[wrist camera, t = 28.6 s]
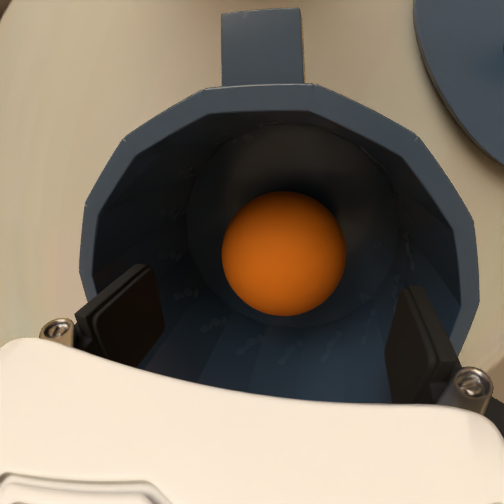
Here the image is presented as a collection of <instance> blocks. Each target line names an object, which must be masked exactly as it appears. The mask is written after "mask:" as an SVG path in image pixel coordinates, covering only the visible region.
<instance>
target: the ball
mask: <svg viewBox="0 0 504 504" xmlns="http://www.w3.org/2000/svg"><path fill="white" fill-rule="evenodd" d="M345 263H346V244H345V240H344V236H343V233H342V230H341V228H340V225H339V224H338V222H337V220H336V218H335V217H334V216H333V215H332V213H331V212H330V211H329V210H328V209H327V208H326V207H325V206H323V205H322V204H321V203H319V202H318V201H316V200H315V199H313V198H311V197H309V196H306V195H304V194H300V193H296V192H289V191H278V192H271V193H267V194H264V195H261V196H259V197H257V198H255V199H253V200H251V201H250V202H248V203H247V204H246V205H244V206H243V207H242V208H241V209H240V210H239V211H238V212H237V213H236V215H235V216H234V217H233V219H232V220H231V222H230V223H229V225H228V228H227V230H226V232H225V235H224V239H223V244H222V264H223V268H224V272H225V275H226V278H227V280H228V282H229V284H230V286H231V288H232V289H233V290H234V292H235V293H236V294H237V295H238V296H239V297H240V298H241V299H242V300H243V301H244V302H245V303H246V304H248V305H249V306H251V307H252V308H254V309H256V310H258V311H260V312H263V313H266V314H270V315H275V316H293V315H298V314H302V313H305V312H307V311H310V310H312V309H314V308H315V307H317V306H319V305H320V304H322V303H323V302H324V301H325V300H326V299H327V298H328V297H329V296H330V295H331V294H332V293H333V292H334V290H335V289H336V287H337V286H338V284H339V282H340V280H341V277H342V275H343V272H344V268H345Z"/></svg>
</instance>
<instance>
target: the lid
mask: <svg viewBox="0 0 504 504" xmlns="http://www.w3.org/2000/svg"><path fill="white" fill-rule="evenodd" d="M413 20H414V29H415V33H416V38H417V43H418V46H419V49H420V52H421V56H422V59H423V61H424V63H425V66H426V69H427V71H428V74H429V76H430V78H431V80H432V82H433V84H434V86H435V88H436V90H437V92H438V93H439V95H440V97H441V99H442V100H443V102H444V104H445V106H446V107H447V108H448V110H449V111H450V113H451V114H452V116H453V118H454V119H455V120H456V122H457V123H458V124H459V125H460V127H461V128H462V129H463V131H464V132H465V133H466V134H467V135H468V136H469V138H470V139H471V140H472V141H473V142H474V143H475V144H476V145H477V146H478V147H479V148H480V149H481V150H482V151H483V152H485V153H486V154H487V155H488V156H489V157H491V158H492V159H493V160H495V161H496V162H497V163H499V164H501V165H503V166H504V0H413Z"/></svg>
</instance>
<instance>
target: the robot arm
mask: <svg viewBox="0 0 504 504" xmlns="http://www.w3.org/2000/svg"><path fill="white" fill-rule="evenodd" d="M74 315H75V318H76V320H77V323H76V324H75V325H74V323H73V321H72V320H70V319H68V318H58V319H55V320H52V321H50V322H48V323H47V324H45V325H44V326H43V328H42V329H41V331H40V335H39V338H20V339H15V340H12V341H10V342H8V343H7V344H5V345H4V346H3V347H1V348H0V504H504V404H503V403H502V402H500V401H498V400H497V399H495V398H493V397H492V393H493V382H492V380H491V379H490V377H489V376H488V375H487V374H486V373H485V372H484V371H482V370H481V369H478V368H475V367H469V366H468V367H462V366H461V364H460V362H459V359H458V357H457V355H456V353H455V350H454V348H453V346H452V344H451V341H450V339H449V337H448V335H447V333H446V331H445V329H444V327H443V325H442V323H441V322H440V320H439V318H438V316H437V314H436V312H435V310H434V308H433V306H432V304H431V302H430V300H429V299H428V297H427V295H426V293H425V291H424V289H423V287H422V286H413V285H407V286H406V287H405V289H401V290H400V293H399V297H398V301H397V306H396V310H395V314H394V317H393V321H392V325H391V329H390V332H389V336H388V339H387V343H386V346H385V351H384V358H385V364H386V369H387V375H388V381H389V388H390V394H391V401H392V404H381V403H343V402H326V401H313V400H302V399H292V398H283V397H275V396H268V395H261V394H254V393H247V392H241V391H235V390H229V389H224V388H218V387H213V386H208V385H203V384H198V383H194V382H189V381H185V380H180V379H176V378H172V377H168V376H164V375H160V374H156V373H152V372H149V371H145V370H141V369H138V368H137V367H138V365H139V364H140V363H141V361H142V360H143V359H144V357H145V356H146V355H147V353H148V352H149V351H150V350H151V348H152V347H153V346H154V344H155V343H156V342H157V340H158V339H159V338H160V336H161V335H162V334H163V332H164V330H165V322H164V317H163V312H162V307H161V302H160V297H159V292H158V286H157V281H156V275H155V271H154V270H153V269H152V268H151V266H150V265H144V264H135V265H134V266H132V267H131V268H130V269H129V270H127V271H126V272H125V273H124V274H122V275H121V276H120V277H119V278H117V279H116V280H115V281H114V282H112V283H111V284H110V285H109V286H107V287H106V288H105V289H104V290H103V291H101V292H100V293H99V294H98V295H96V296H95V297H94V298H93V299H92V300H90V301H89V302H88V303H87V304H86V305H85V306H83V307H82V308H81V309H80V310H79V311H77V312H76V313H75V314H74Z"/></svg>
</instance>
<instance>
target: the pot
mask: <svg viewBox="0 0 504 504" xmlns="http://www.w3.org/2000/svg"><path fill="white" fill-rule="evenodd" d="M221 62H222V87H212V88H206V89H204V90H200V91H198V92H196V93H194V94H193V95H191V96H189V97H187V98H185V99H184V100H182V101H180V102H178V103H177V104H175V105H173V106H172V107H170V108H168V109H167V110H165V111H163V112H162V113H160V114H158V115H157V116H155V117H154V118H152V119H150V120H149V121H147V122H146V123H144V124H143V125H141V126H140V127H138V128H137V129H135V130H134V131H132V132H131V133H129V134H128V135H126V136H125V138H123V139H122V141H121V142H120V144H119V145H118V147H117V148H116V150H115V152H114V153H113V155H112V156H111V158H110V160H109V161H108V163H107V165H106V166H105V168H104V170H103V171H102V173H101V175H100V176H99V178H98V180H97V182H96V184H95V185H94V187H93V189H92V191H91V193H90V194H89V196H88V198H87V200H86V202H85V207H84V215H83V223H82V233H81V245H80V260H79V273H80V277H81V281H82V284H83V288H84V291H85V295H86V298H87V302H89V301H90V300H92V299H93V298H94V297H95V296H96V295H98V294H99V293H100V292H101V291H103V290H104V289H105V288H106V287H107V286H109V285H110V284H111V283H112V282H114V281H115V280H116V279H117V278H119V277H120V276H121V275H122V274H124V273H125V272H126V271H127V270H129V269H130V268H131V267H132V266H134V265H135V264H144V265H150V266H151V268H152V269H153V270H154V271H155V275H156V281H157V286H158V292H159V297H160V302H161V307H162V312H163V317H164V322H165V330H164V332H163V334H162V335H161V336H160V338H159V339H158V340H157V342H156V343H155V344H154V346H153V347H152V348H151V350H150V351H149V352H148V353H147V355H146V356H145V357H144V359H143V360H142V361H141V363H140V364H139V365H138V367H137V368H138V369H141V370H145V371H149V372H152V373H156V374H160V375H164V376H168V377H172V378H176V379H180V380H185V381H189V382H194V383H198V384H203V385H208V386H213V387H218V388H224V389H229V390H235V391H241V392H247V393H254V394H261V395H268V396H275V397H283V398H292V399H302V400H313V401H326V402H343V403H381V404H392V401H391V394H390V388H389V381H388V375H387V369H386V364H385V358H384V351H385V346H386V343H387V339H388V336H389V332H390V329H391V325H392V321H393V317H394V314H395V310H396V306H397V301H398V297H399V293H400V290H401V289H405V287H406V286H407V285H413V286H422V287H423V289H424V291H425V293H426V295H427V297H428V299H429V300H430V302H431V304H432V306H433V308H434V310H435V312H436V314H437V316H438V318H439V320H440V322H441V323H442V325H443V327H444V329H445V331H446V333H447V335H448V337H449V339H450V341H451V344H452V346H453V348H454V350H455V353H456V355H457V357H458V355H459V353H460V351H461V349H462V346H463V344H464V342H465V339H466V337H467V334H468V332H469V330H470V327H471V324H472V322H473V319H474V316H475V314H476V311H477V308H478V305H479V302H480V299H479V270H478V256H477V245H476V236H475V228H474V221H473V219H472V216H471V215H470V213H469V211H468V209H467V208H466V206H465V204H464V202H463V201H462V199H461V197H460V196H459V194H458V193H457V191H456V189H455V188H454V186H453V185H452V183H451V181H450V180H449V178H448V177H447V175H446V174H445V172H444V171H443V169H442V168H441V167H440V165H439V164H438V162H437V161H436V159H435V158H434V157H433V155H432V154H431V152H430V151H429V150H428V148H427V147H426V146H425V144H424V143H423V142H422V140H421V139H420V138H419V137H418V136H417V135H416V134H415V133H413V132H411V131H410V130H408V129H406V128H405V127H403V126H401V125H399V124H398V123H396V122H394V121H392V120H391V119H389V118H387V117H385V116H383V115H381V114H379V113H378V112H376V111H374V110H372V109H370V108H368V107H366V106H364V105H362V104H360V103H358V102H356V101H354V100H351V99H349V98H347V97H345V96H343V95H341V94H338V93H336V92H334V91H332V90H329V89H327V88H325V87H322V86H320V85H317V84H315V85H314V84H312V83H305V63H304V41H303V24H302V15H301V10H300V8H275V9H260V10H249V11H239V12H231V13H224V14H221ZM278 191H289V192H296V193H300V194H304V195H306V196H309V197H311V198H313V199H315V200H316V201H318V202H319V203H321V204H322V205H323V206H325V207H326V208H327V209H328V210H329V211H330V212H331V213H332V215H333V216H334V217H335V218H336V220H337V222H338V224H339V225H340V228H341V230H342V233H343V236H344V240H345V244H346V263H345V268H344V272H343V275H342V277H341V280H340V282H339V284H338V286H337V287H336V289H335V290H334V292H333V293H332V294H331V295H330V296H329V297H328V298H327V299H326V300H325V301H324V302H323V303H322V304H320V305H319V306H317V307H315V308H314V309H312V310H310V311H307V312H305V313H302V314H298V315H293V316H275V315H270V314H266V313H263V312H260V311H258V310H256V309H254V308H252V307H251V306H249V305H248V304H246V303H245V302H244V301H243V300H242V299H241V298H240V297H239V296H238V295H237V294H236V293H235V292H234V290H233V289H232V288H231V286H230V284H229V282H228V280H227V278H226V275H225V272H224V268H223V264H222V244H223V239H224V235H225V232H226V230H227V228H228V225H229V223H230V222H231V220H232V219H233V217H234V216H235V215H236V213H237V212H238V211H239V210H240V209H241V208H242V207H243V206H244V205H246V204H247V203H248V202H250V201H251V200H253V199H255V198H257V197H259V196H261V195H264V194H267V193H271V192H278Z"/></svg>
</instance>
